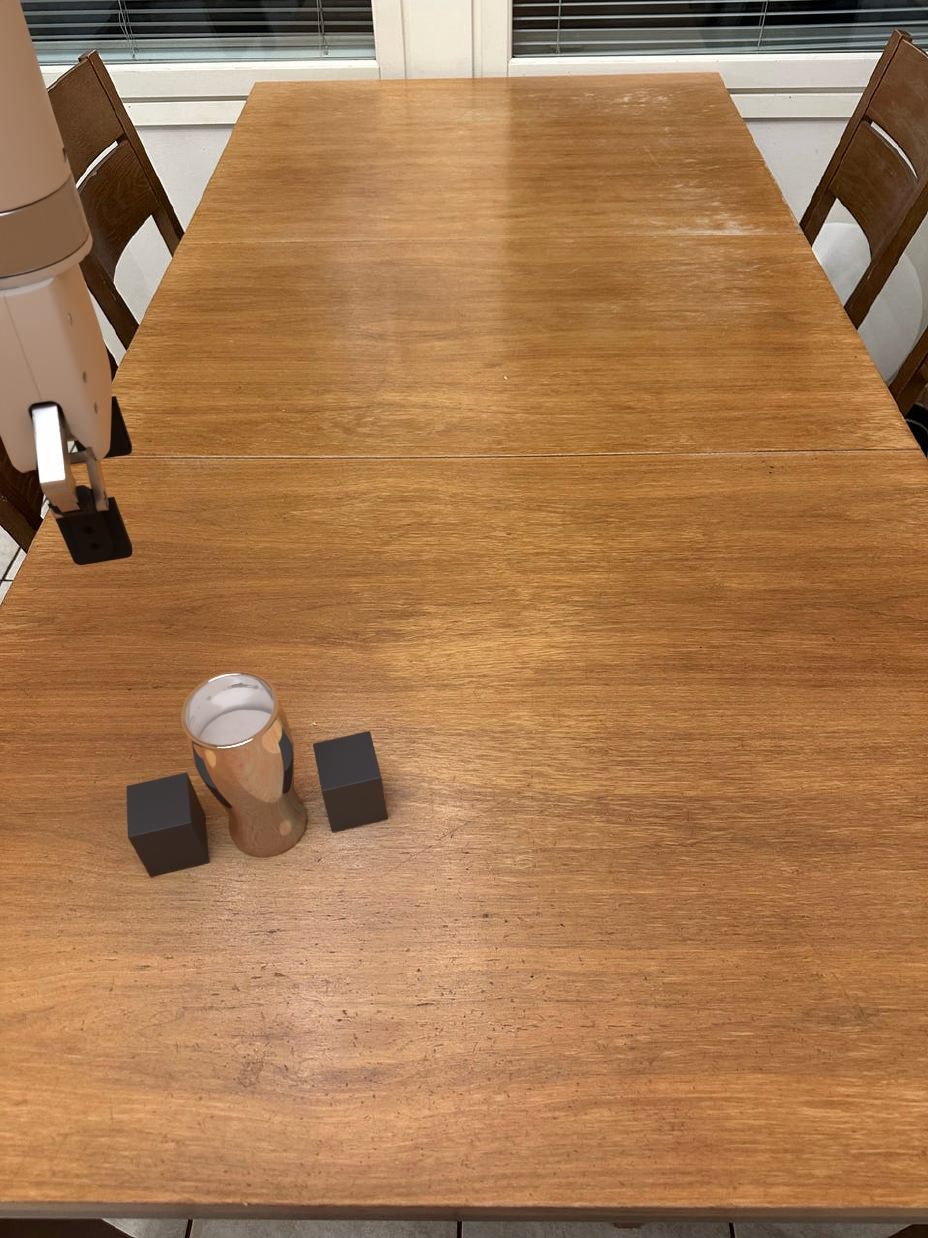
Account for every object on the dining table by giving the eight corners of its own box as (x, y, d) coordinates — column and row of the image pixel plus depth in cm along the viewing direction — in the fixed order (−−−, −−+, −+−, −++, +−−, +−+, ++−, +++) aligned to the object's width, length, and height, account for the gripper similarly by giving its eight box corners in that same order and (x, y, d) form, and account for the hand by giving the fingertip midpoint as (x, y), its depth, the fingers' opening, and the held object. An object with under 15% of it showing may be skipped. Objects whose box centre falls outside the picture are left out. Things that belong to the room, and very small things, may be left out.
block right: (331, 833, 74) (321, 791, 70) (322, 786, 77) (312, 743, 73) (388, 819, 75) (381, 777, 70) (376, 773, 78) (370, 730, 73)
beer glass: (286, 875, 72) (248, 763, 61) (207, 846, 73) (156, 733, 62) (328, 800, 76) (299, 683, 65) (252, 775, 78) (212, 657, 67)
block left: (149, 877, 72) (127, 837, 67) (147, 827, 75) (126, 785, 70) (209, 863, 72) (191, 822, 68) (205, 813, 75) (187, 771, 71)
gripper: (-60, 159, 49) (49, 430, 62) (-117, 326, 38) (31, 617, 50) (89, 144, 51) (166, 413, 63) (77, 302, 39) (174, 592, 52)
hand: (106, 503), depth 57 cm, fingers open, 9 cm apart
